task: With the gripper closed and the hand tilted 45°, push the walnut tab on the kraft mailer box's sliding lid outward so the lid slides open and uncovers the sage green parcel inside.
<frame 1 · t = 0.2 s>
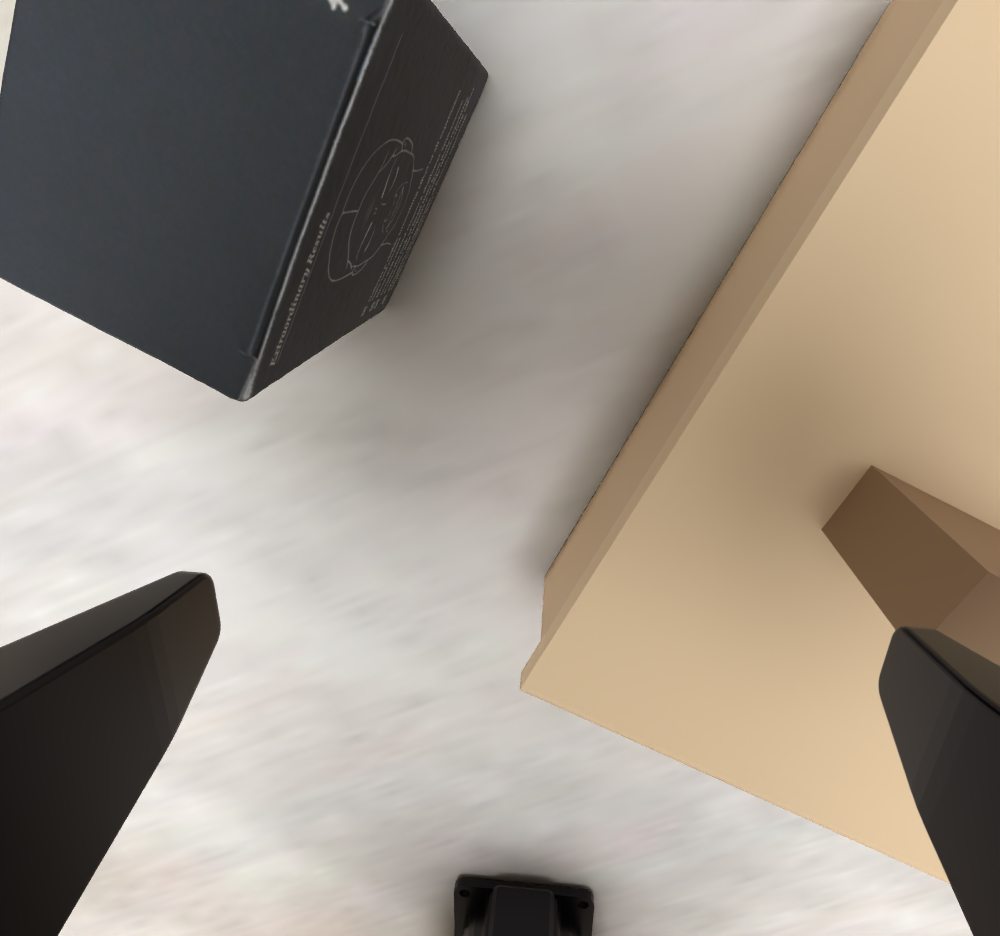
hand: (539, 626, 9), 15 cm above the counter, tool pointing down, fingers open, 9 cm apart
box: (354, 157, 21), on the counter
mailer box: (898, 448, 22), on the counter
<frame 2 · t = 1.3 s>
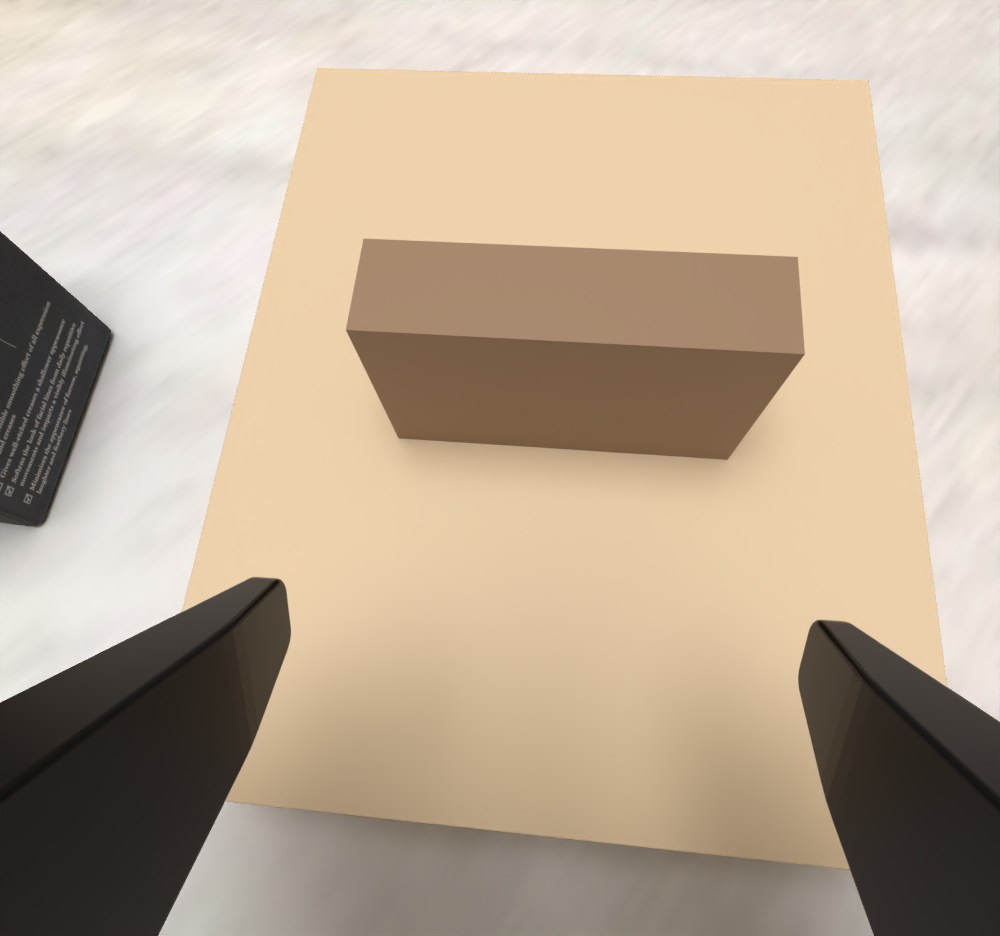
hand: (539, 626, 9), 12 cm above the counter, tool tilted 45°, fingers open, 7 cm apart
box: (15, 421, 25), on the counter
lid: (568, 331, 15), point 8 cm above the counter, slide at 0.0 cm
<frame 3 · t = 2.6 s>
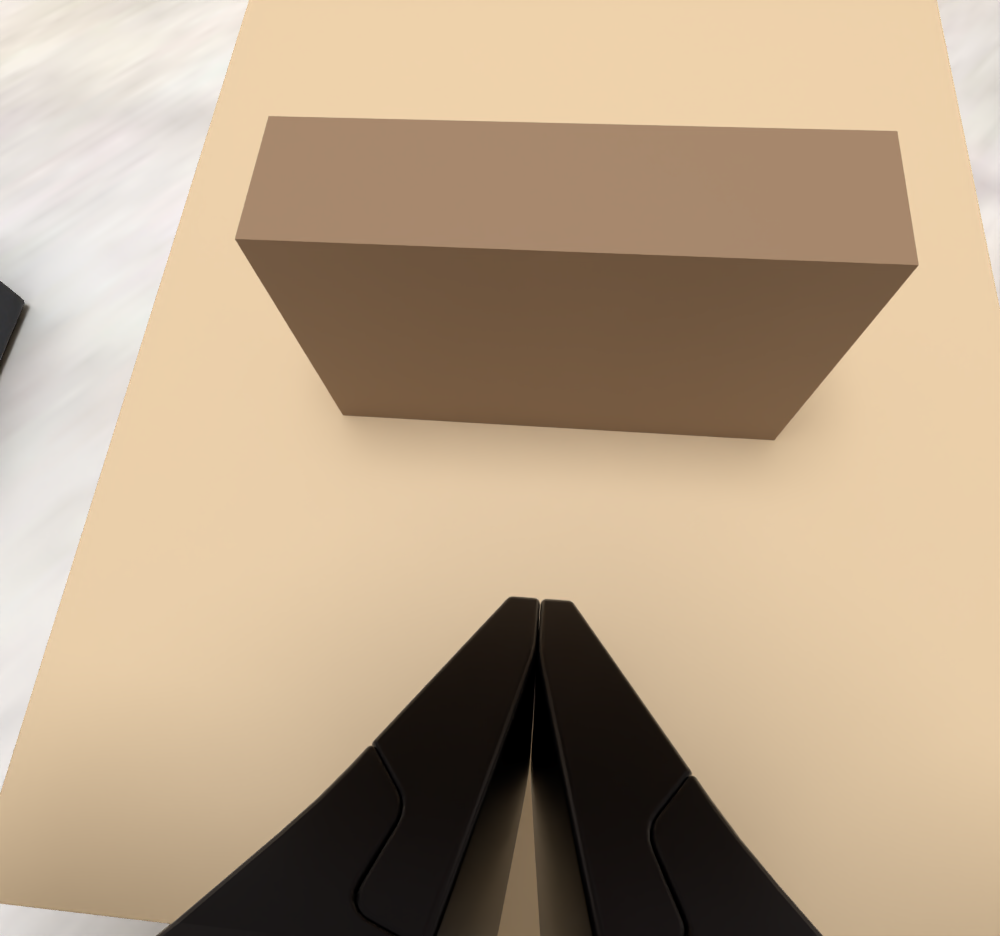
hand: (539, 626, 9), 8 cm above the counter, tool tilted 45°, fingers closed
lid: (563, 267, 11), point 8 cm above the counter, slide at 0.0 cm
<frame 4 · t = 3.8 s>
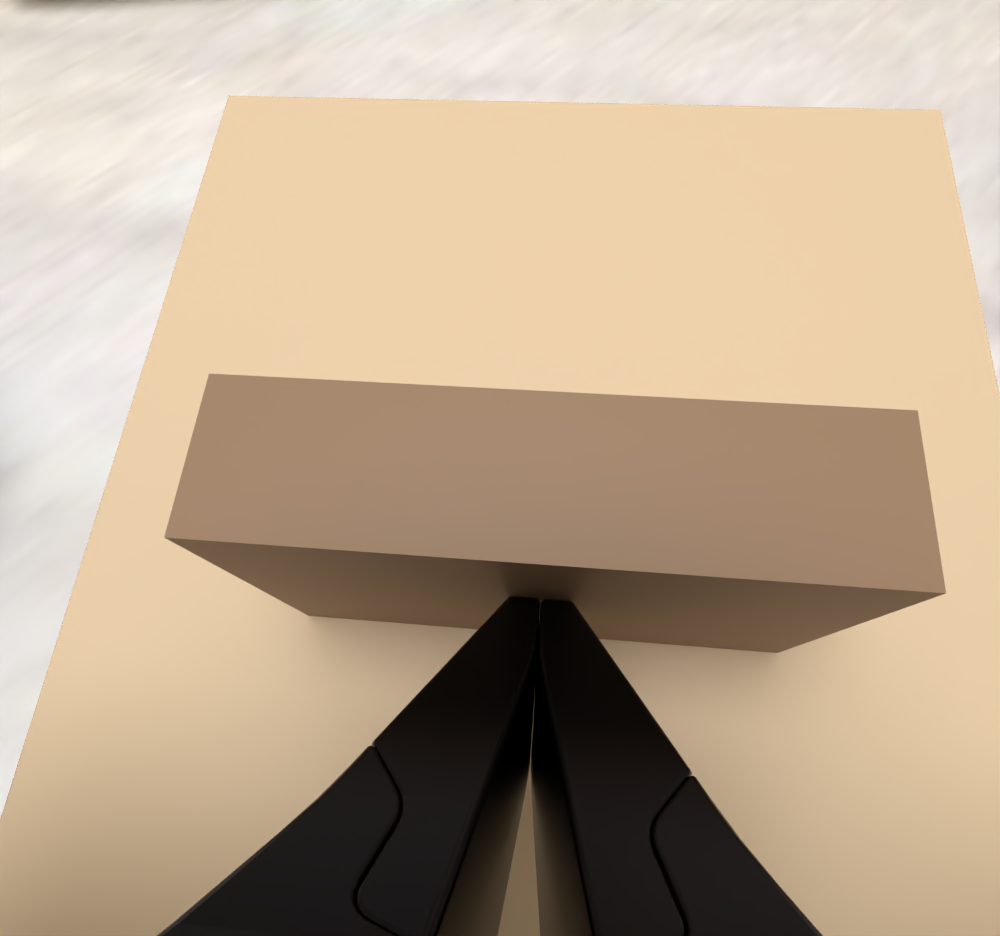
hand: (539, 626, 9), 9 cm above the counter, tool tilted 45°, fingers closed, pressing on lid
lid: (545, 481, 10), point 8 cm above the counter, slide at 0.9 cm, touching gripper
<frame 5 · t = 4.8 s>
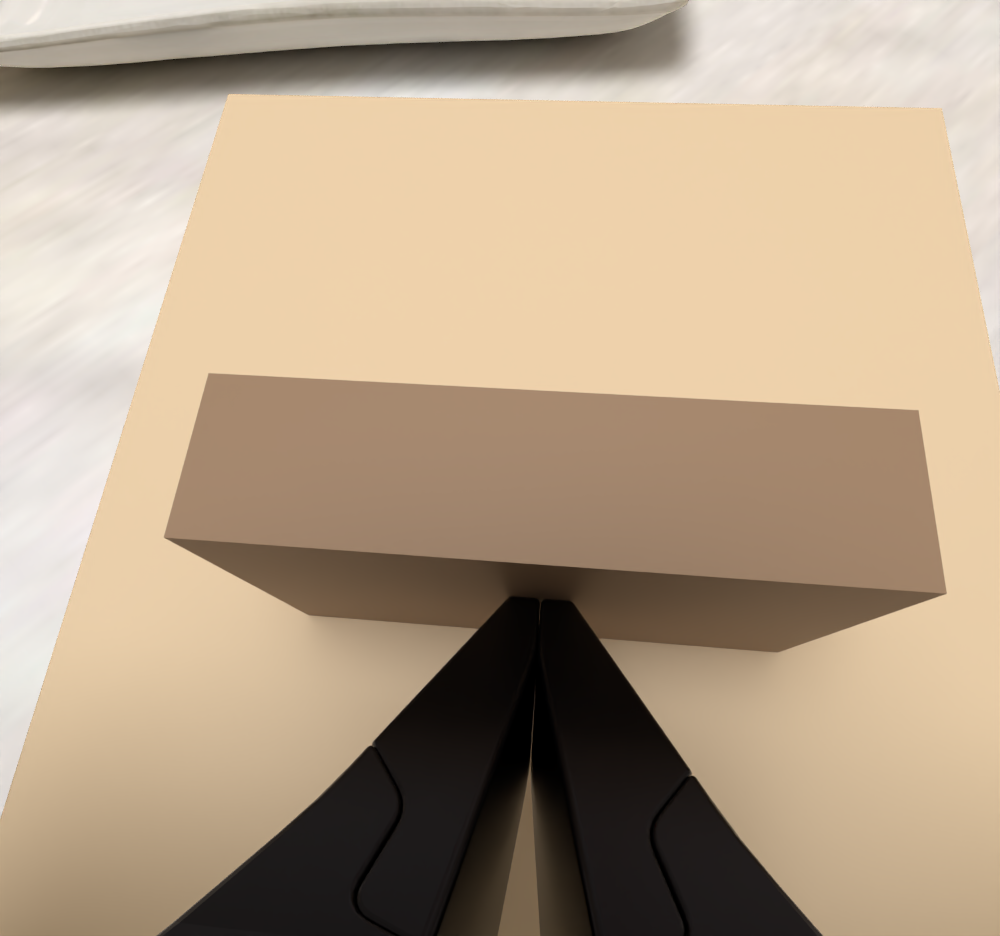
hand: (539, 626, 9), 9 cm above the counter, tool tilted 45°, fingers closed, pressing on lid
lid: (545, 480, 10), point 8 cm above the counter, slide at 6.7 cm, touching gripper
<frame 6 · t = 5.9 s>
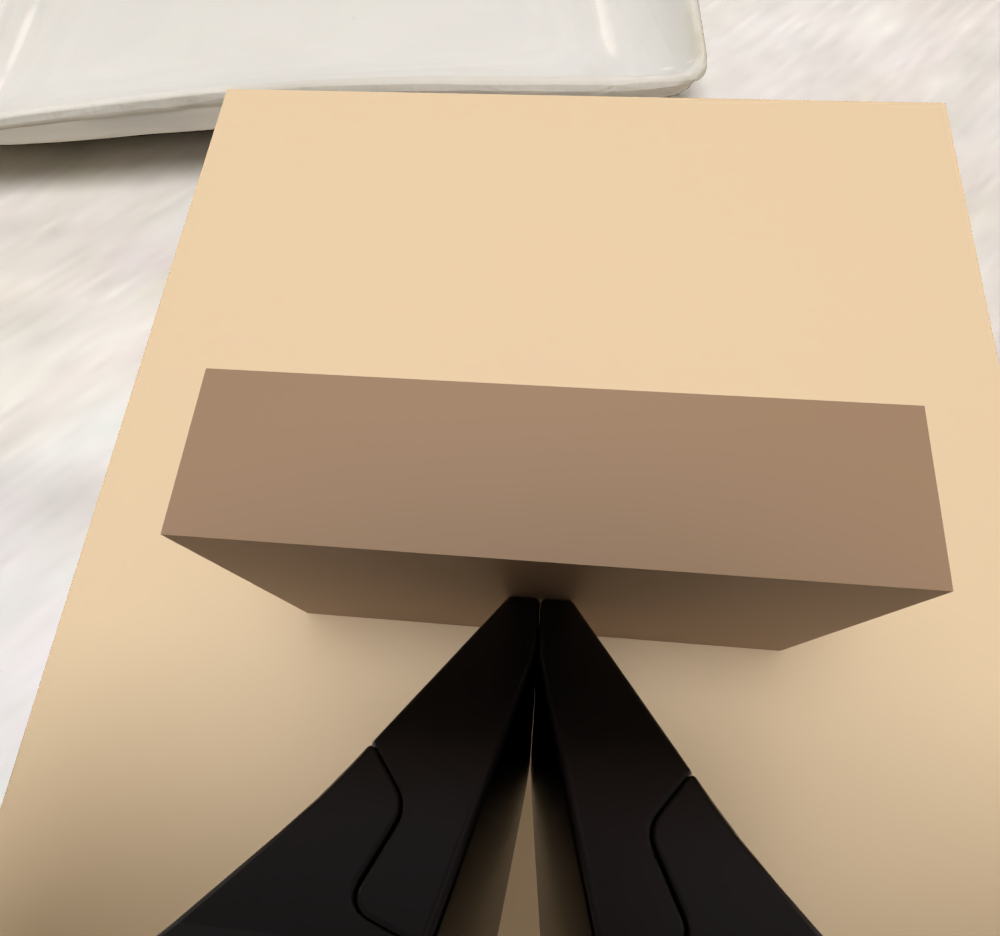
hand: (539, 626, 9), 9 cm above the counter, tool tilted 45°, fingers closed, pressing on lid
lid: (546, 477, 10), point 8 cm above the counter, slide at 10.6 cm, touching gripper
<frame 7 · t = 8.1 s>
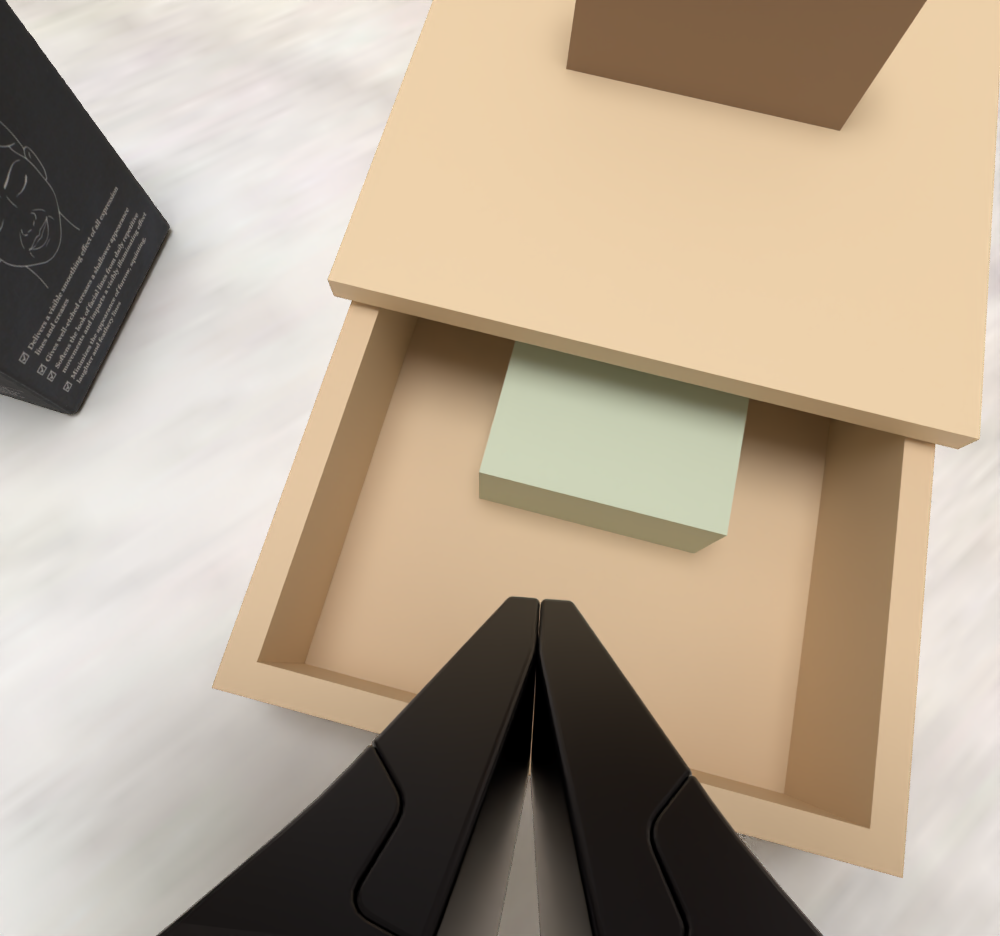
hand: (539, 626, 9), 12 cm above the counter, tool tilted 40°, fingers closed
box: (58, 302, 24), on the counter
mailer box: (602, 444, 23), on the counter
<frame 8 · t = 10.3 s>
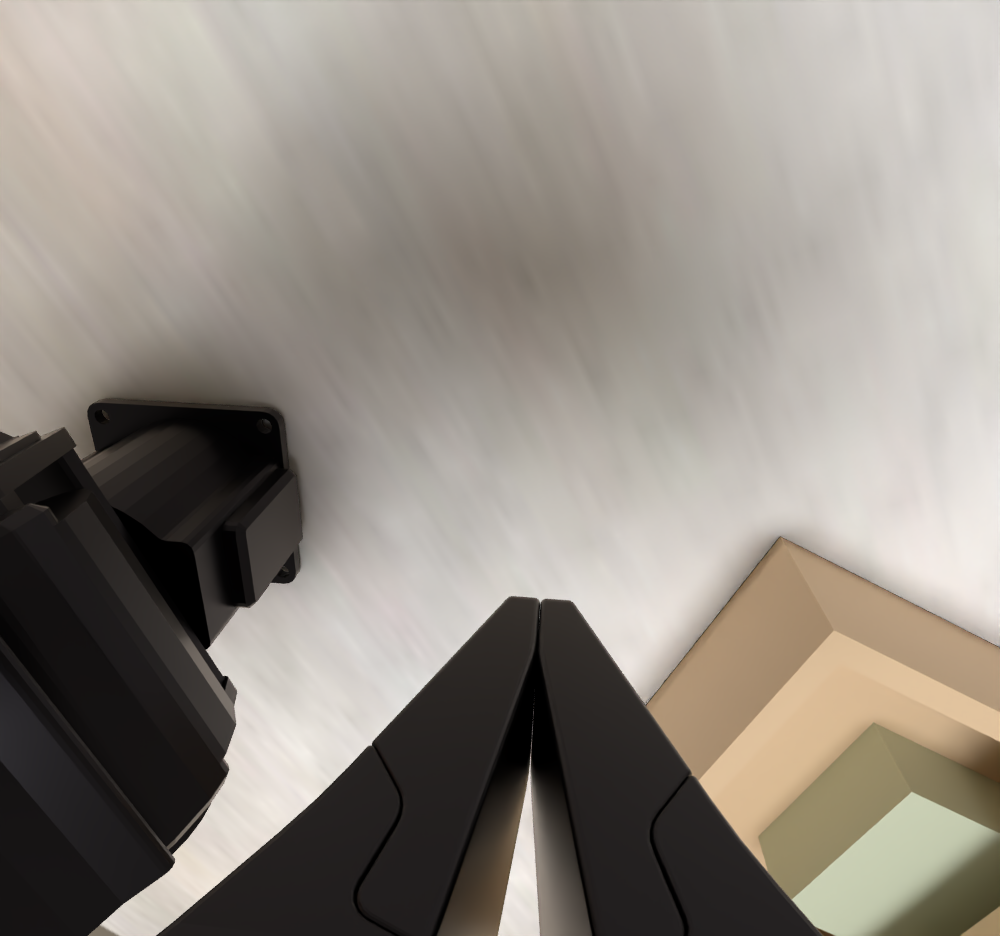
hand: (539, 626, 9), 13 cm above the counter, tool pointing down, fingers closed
mailer box: (873, 802, 27), on the counter
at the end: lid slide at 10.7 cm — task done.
